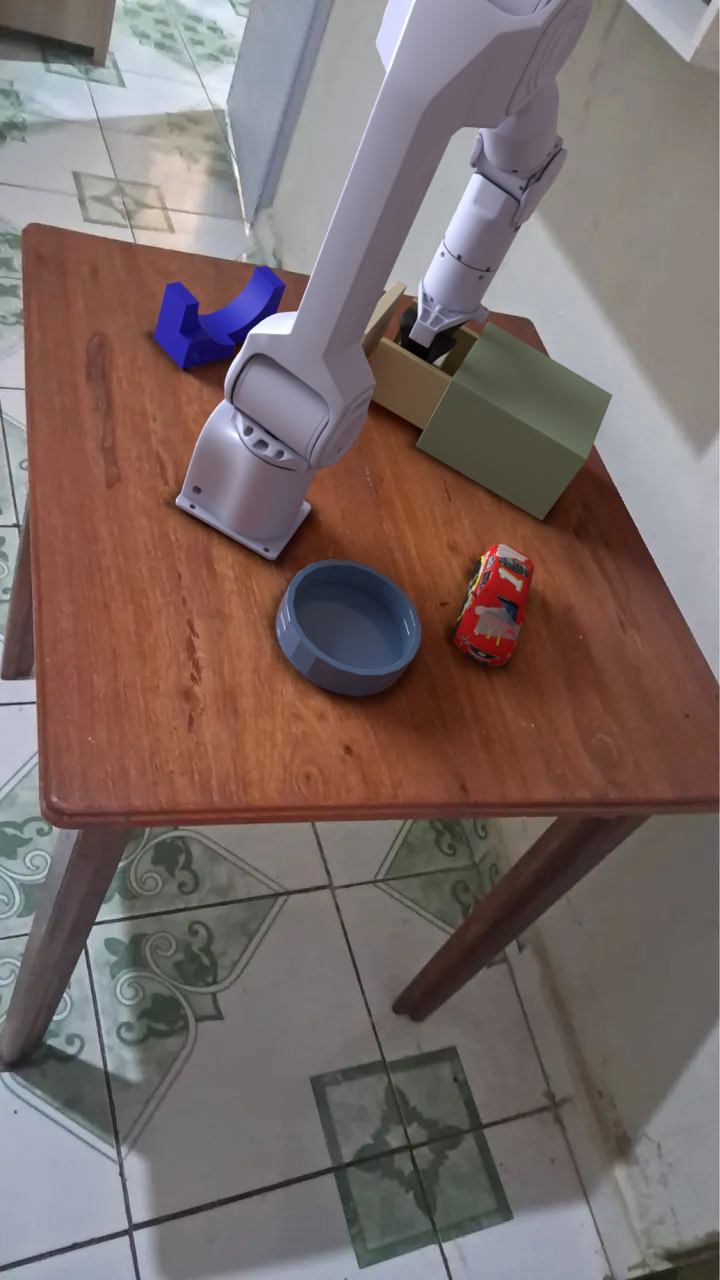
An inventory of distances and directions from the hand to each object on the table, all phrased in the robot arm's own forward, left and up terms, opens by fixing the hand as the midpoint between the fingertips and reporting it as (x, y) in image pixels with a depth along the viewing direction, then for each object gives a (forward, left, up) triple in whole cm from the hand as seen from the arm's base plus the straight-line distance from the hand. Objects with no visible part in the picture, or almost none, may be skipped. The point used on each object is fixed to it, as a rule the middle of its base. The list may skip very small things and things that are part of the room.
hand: (412, 369), depth 96 cm
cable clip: (-18, -8, -3) cm, 20 cm away
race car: (+17, -22, -3) cm, 28 cm away
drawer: (-1, 0, -2) cm, 3 cm away
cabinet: (+11, 0, -3) cm, 12 cm away
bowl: (+7, -33, -3) cm, 34 cm away
